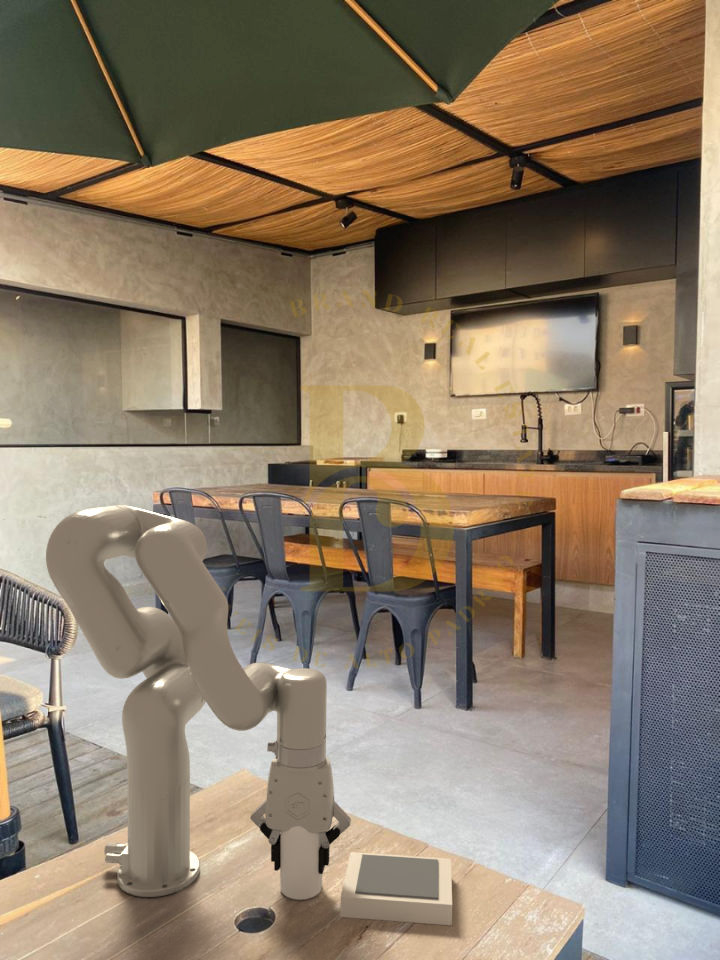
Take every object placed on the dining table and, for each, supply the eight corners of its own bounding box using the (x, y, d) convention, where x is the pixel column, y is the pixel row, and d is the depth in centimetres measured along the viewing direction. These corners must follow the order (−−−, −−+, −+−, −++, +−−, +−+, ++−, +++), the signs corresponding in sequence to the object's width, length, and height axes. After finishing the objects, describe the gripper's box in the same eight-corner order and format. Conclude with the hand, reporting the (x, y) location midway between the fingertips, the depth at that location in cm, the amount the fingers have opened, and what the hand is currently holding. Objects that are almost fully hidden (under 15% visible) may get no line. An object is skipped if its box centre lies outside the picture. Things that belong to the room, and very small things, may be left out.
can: (316, 904, 109) (316, 825, 108) (274, 898, 110) (274, 820, 110) (326, 879, 115) (327, 804, 115) (287, 874, 116) (287, 800, 116)
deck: (340, 916, 106) (340, 894, 106) (350, 870, 118) (350, 850, 118) (451, 925, 104) (452, 902, 104) (450, 877, 116) (450, 856, 116)
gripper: (239, 758, 109) (238, 877, 110) (354, 765, 107) (353, 885, 108) (252, 739, 117) (251, 850, 117) (360, 745, 115) (358, 858, 115)
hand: (300, 866), depth 112 cm, fingers closed on can, 6 cm apart
